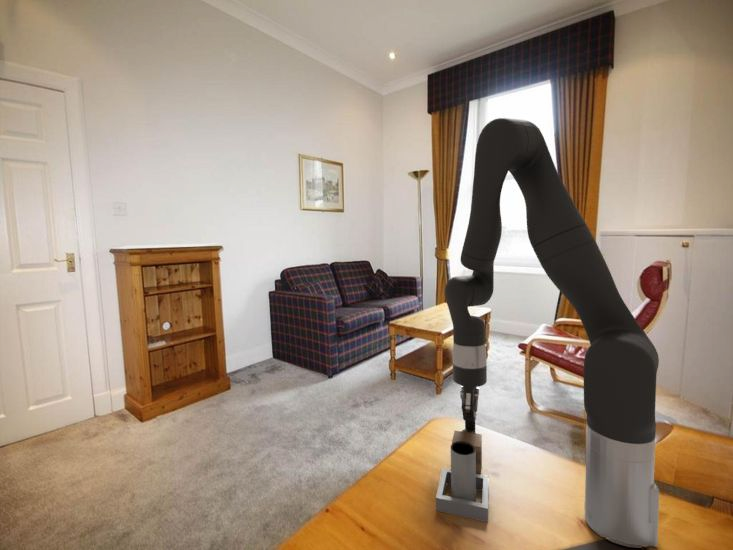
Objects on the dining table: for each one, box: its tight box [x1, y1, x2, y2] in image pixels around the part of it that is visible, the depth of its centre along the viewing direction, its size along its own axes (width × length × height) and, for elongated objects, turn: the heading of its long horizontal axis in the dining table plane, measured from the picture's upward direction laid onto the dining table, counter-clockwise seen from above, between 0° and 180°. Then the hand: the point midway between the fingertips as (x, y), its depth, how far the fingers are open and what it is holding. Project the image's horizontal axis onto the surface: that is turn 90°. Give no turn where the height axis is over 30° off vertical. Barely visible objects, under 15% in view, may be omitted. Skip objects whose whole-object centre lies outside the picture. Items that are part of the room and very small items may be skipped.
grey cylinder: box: [450, 441, 477, 502], centre depth 67 cm, size 4×4×10 cm
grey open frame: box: [435, 467, 490, 523], centre depth 67 cm, size 9×9×2 cm
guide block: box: [451, 430, 483, 475], centre depth 76 cm, size 6×5×7 cm
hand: (470, 433), depth 83 cm, fingers closed
